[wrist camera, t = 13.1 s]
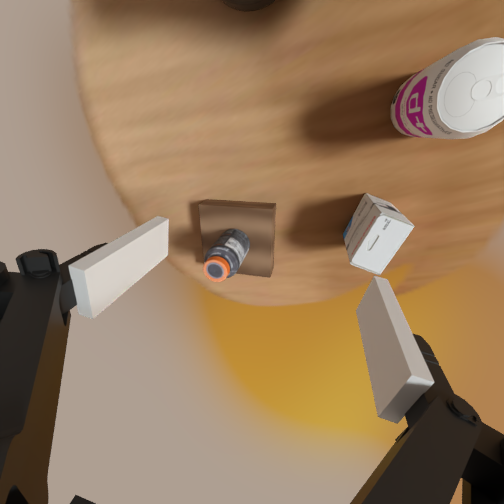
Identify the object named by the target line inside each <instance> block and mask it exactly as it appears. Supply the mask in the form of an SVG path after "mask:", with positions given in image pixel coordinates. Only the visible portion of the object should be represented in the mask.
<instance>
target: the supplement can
mask: <svg viewBox="0 0 504 504" xmlns="http://www.w3.org/2000/svg"><path fill="white" fill-rule="evenodd" d="M503 119H504V39H502V38H498V37H494V38H487V39H479V40H476V41H474V42H472V43H470V44H468V45H466V46H463V47H461V48H459V49H457V50H456V51H454V52H452V53H451V54H449V55H447V56H445V57H444V58H442V59H440V60H438V61H437V62H435V63H433V64H432V65H430V66H428V67H426V68H425V69H423V70H421V71H419V72H418V73H416V74H414V75H413V76H411V77H410V78H409V79H408V80H407V81H405V82H404V83H403V84H402V85H401V86H400V88H399V89H398V91H397V92H396V94H395V95H394V98H393V101H392V105H391V120H392V122H393V125H394V127H395V128H396V129H397V130H398V131H399V132H400V133H401V134H404V135H407V136H410V137H425V138H442V139H463V138H470V137H473V136H476V135H479V134H481V133H484V132H486V131H488V130H489V129H491V128H492V127H494V126H495V125H497V124H498V123H500V122H501V121H502V120H503Z"/></svg>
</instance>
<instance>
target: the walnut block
mask: <svg viewBox="0 0 504 504" xmlns="http://www.w3.org/2000/svg"><path fill="white" fill-rule="evenodd" d="M198 206H199V216H200V226H201V236H202V246H203V256H204V258H205V254H206V252H207V251H208V250H209V249H210V247H211V246H212V245H213V244H214V243H215V242H216V241H217V240H218V238H219V237H220V236H221V235H222V234H223V233H224V232H225V231H226V230H229V229H239V230H241V231H243V232H244V233H245V234H246V235H247V236H248V238H249V241H250V248H249V251H248V253H247V254H246V256H245V258H244V260H243V262H242V264H241V265H240V267H239V269H238V271H237V272H236V273H237V274H245V275H253V276H262V277H271V274H272V270H273V264H274V240H275V216H276V203H260V202H243V201H226V200H209V199H207V200H205V201H203V202H202V203H200V204H198ZM204 264H205V262H204Z"/></svg>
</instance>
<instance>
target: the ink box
mask: <svg viewBox="0 0 504 504" xmlns="http://www.w3.org/2000/svg"><path fill="white" fill-rule="evenodd" d="M413 228H414V225H413V224H412V223H411V222H410V221H409V220H408V219H407V218H406V217H405V216H404V215H403V214H402V213H401V212H400V211H399V210H398V209H397V208H396V207H394V206H393V205H392V204H391V203H390V202H387V201H385V200H382V199H380V198H377V197H375V196H372V195H369V194H367V193H366V194H364V196H363V198H362V200H361V201H360V203H359V205H358V207H357V209H356V211H355V213H354V214H353V216H352V218H351V220H350V222H349V224H348V226H347V227H346V229H345V231H344V233H343V238H344V241H345V245H346V249H347V253H348V257H349V261H350V264H351V265H354V266H356V267H359V268H361V269H364V270H367V271H370V272H372V273H375V274H378V275H380V274H381V273H382V271H383V270H384V268H385V267H386V266H387V264H388V263H389V261H390V260H391V259H392V257H393V256H394V254H395V253H396V252H397V250H398V249H399V247H400V246H401V245H402V243H403V242H404V240H405V239H406V238H407V236H408V235H409V233H410V232H411V230H412V229H413Z"/></svg>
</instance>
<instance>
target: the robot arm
mask: <svg viewBox="0 0 504 504" xmlns="http://www.w3.org/2000/svg"><path fill="white" fill-rule="evenodd" d="M221 1H223V2H224V3H225V4H227V5H228V6H230V7H232V8H235V9H238V10H242V11H253V10H258V9H261V8H264V7H266V6H268V5H270V4H271V3H273V2H274V1H275V0H221ZM168 224H169V219H167V218H163V217H160V216H157V217H155V218H153V219H152V220H150V221H148V222H146V223H144V224H143V225H141V226H139V227H137V228H135V229H134V230H132V231H130V232H128V233H126V234H125V235H123V236H121V237H119V238H117V239H116V240H114V241H112V242H110V243H104V244H100V245H96V246H94V247H92V248H90V249H88V250H87V251H85V252H83V253H81V254H80V255H77V256H75V257H73V258H72V259H70V260H68V261H66V262H64V263H62V264H60V265H59V263H58V259H57V255H56V253H55V252H54V251H52V250H47V249H46V250H45V249H38V250H32V251H28V252H25V253H23V254H21V255H19V256H18V257H17V258H16V261H17V265H18V268H19V270H20V273H17V272H8V270H7V268H6V265H5V263H3V262H0V504H48V484H47V475H48V467H49V459H50V454H51V446H52V440H53V433H54V427H55V419H56V413H57V406H58V399H59V393H60V386H61V379H62V372H63V365H64V359H65V352H66V345H67V338H68V332H69V325H70V318H71V314H70V309H72V308H73V307H74V306H76V305H77V308H78V313H79V314H80V315H83V316H85V317H88V318H91V319H94V318H95V317H96V316H97V315H98V314H99V313H101V312H102V311H103V310H104V309H105V308H107V307H108V306H109V305H110V304H111V303H112V302H114V301H115V300H116V299H117V298H118V297H119V296H121V295H122V294H123V293H124V292H125V291H127V289H129V288H130V287H131V286H132V285H133V284H135V283H136V282H137V281H138V280H139V279H141V278H142V277H143V276H144V275H145V274H146V273H148V272H149V271H150V270H151V269H152V268H153V267H155V266H156V265H157V264H158V263H159V262H161V261H162V260H163V259H164V258H165V257H166V256H168ZM356 313H357V318H358V323H359V327H360V332H361V337H362V342H363V347H364V352H365V356H366V361H367V366H368V370H369V375H370V380H371V385H372V390H373V395H374V400H375V404H376V409H377V414H378V417H380V418H383V419H386V420H389V421H391V422H394V423H398V422H399V421H400V420H401V419H402V418H403V417H404V416H405V417H406V420H407V424H408V427H407V428H406V429H405V430H404V431H403V432H402V433H401V434H400V435H399V436H398V437H397V439H396V442H395V444H394V445H393V446H392V448H391V449H390V450H389V452H388V453H387V454H386V456H385V457H384V458H383V460H382V461H381V462H380V464H379V465H378V466H377V468H376V469H375V471H374V472H373V473H372V475H371V476H370V477H369V479H368V480H367V482H366V483H365V484H364V485H363V487H362V488H361V489H360V491H359V492H358V494H357V495H356V496H355V498H354V499H353V500H352V502H351V503H350V504H450V502H451V499H452V497H453V495H454V492H455V490H456V488H457V485H458V483H459V481H460V478H463V485H462V504H504V435H503V434H502V433H500V432H498V431H496V430H495V429H493V428H491V427H489V426H488V425H486V424H484V423H483V422H482V421H481V419H480V417H479V415H478V414H477V412H476V411H475V410H474V409H473V407H472V406H471V405H469V404H468V403H467V402H466V401H465V400H464V399H462V398H460V397H459V396H457V395H455V394H454V392H453V390H452V388H451V386H450V384H449V383H448V380H447V379H446V377H445V375H444V373H443V371H442V369H441V367H440V366H439V363H438V361H437V359H436V357H434V353H433V351H432V349H431V347H430V346H429V345H428V343H427V342H426V341H425V340H424V339H423V338H422V337H421V336H419V335H415V334H412V332H411V330H410V327H409V325H408V323H407V321H406V319H405V317H404V314H403V312H402V310H401V308H400V306H399V304H398V301H397V299H396V297H395V295H394V292H393V290H392V288H391V286H390V284H389V282H388V279H384V278H380V277H377V276H374V277H373V279H372V281H371V283H370V285H369V287H368V289H367V291H366V292H365V294H364V296H363V298H362V300H361V302H360V304H359V306H358V308H357V310H356ZM70 504H95V503H93V502H91V501H89V500H86V499H84V498H82V497H79V496H77V495H75V497H74V498H73V500H72V501H71V503H70Z"/></svg>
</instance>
